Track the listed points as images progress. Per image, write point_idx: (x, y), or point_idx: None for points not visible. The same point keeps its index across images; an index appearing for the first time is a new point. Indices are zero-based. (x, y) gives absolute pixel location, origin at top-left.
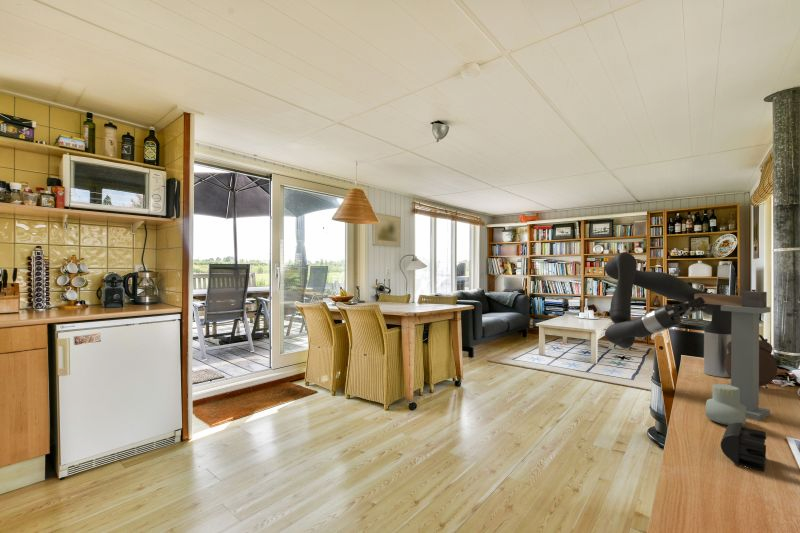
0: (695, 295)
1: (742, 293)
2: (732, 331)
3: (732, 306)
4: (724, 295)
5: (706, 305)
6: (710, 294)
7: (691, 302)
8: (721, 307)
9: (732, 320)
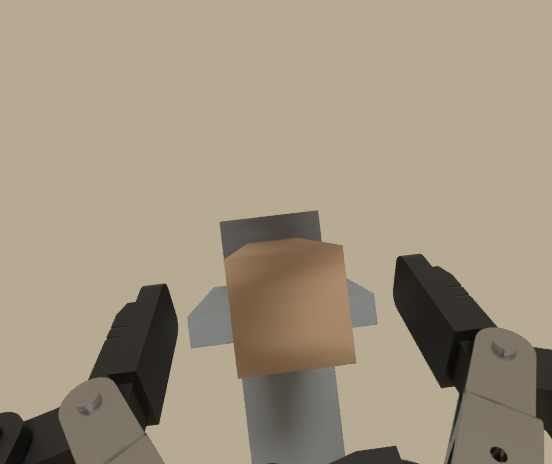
0: (342, 263)
1: (318, 219)
2: (341, 431)
3: (357, 285)
4: (304, 239)
5: (163, 399)
6: (272, 247)
7: (483, 322)
8: (374, 303)
9: (334, 370)
